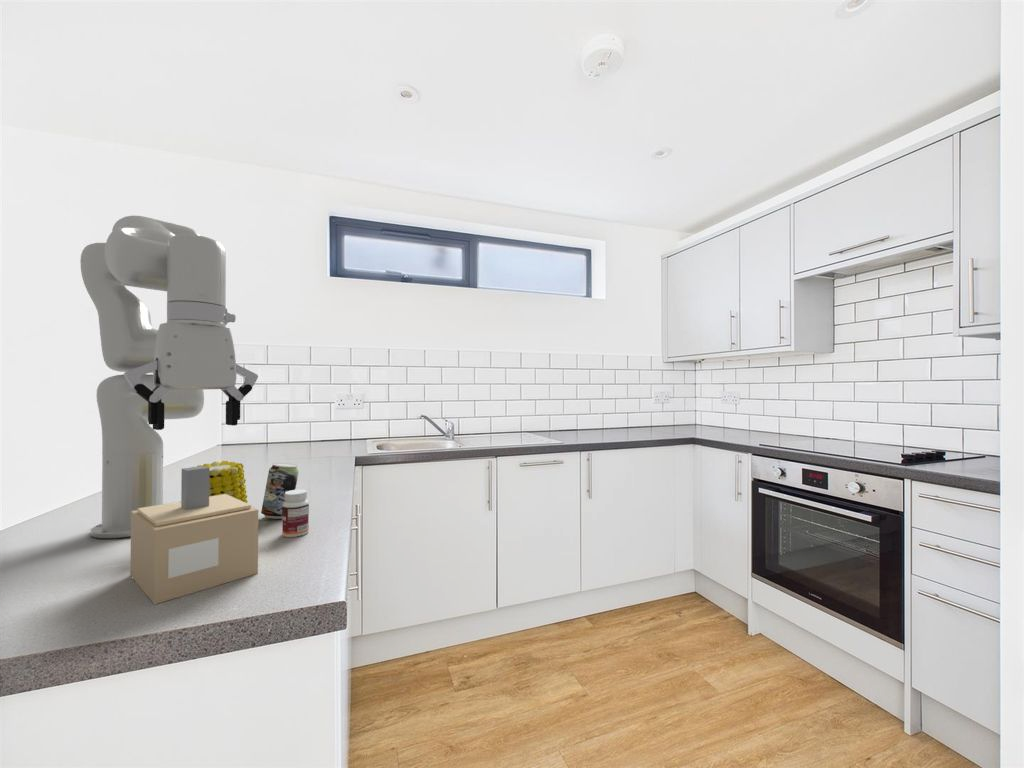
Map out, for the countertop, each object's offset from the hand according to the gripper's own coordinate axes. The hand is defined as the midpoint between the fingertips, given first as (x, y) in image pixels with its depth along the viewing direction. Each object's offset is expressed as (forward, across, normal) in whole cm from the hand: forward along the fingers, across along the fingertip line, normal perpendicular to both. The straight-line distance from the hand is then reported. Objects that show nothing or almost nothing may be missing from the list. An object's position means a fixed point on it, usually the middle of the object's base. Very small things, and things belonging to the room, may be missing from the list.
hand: (196, 427), depth 69 cm
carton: (+23, 0, -1) cm, 23 cm away
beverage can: (+23, -22, -22) cm, 39 cm away
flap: (+13, 0, -1) cm, 13 cm away
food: (+23, -9, -19) cm, 31 cm away
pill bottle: (+23, -19, -8) cm, 31 cm away
